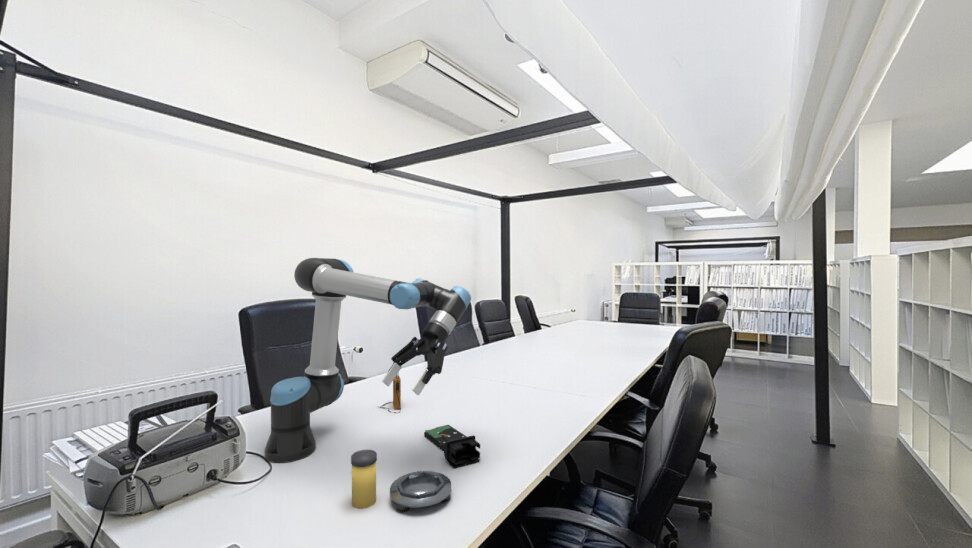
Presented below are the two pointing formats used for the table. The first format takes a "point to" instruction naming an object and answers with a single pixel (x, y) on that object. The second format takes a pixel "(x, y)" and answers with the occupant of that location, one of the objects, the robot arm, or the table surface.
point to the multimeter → (396, 394)
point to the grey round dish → (420, 490)
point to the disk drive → (442, 435)
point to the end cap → (461, 452)
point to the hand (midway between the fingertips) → (399, 388)
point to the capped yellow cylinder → (363, 478)
